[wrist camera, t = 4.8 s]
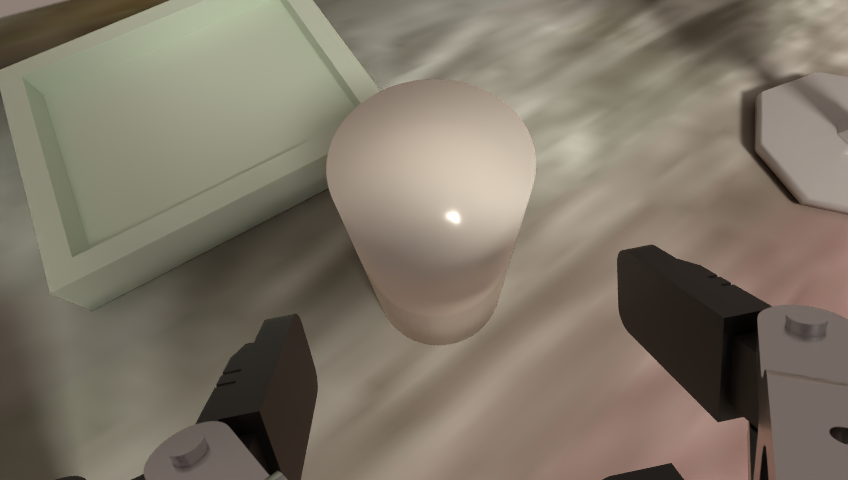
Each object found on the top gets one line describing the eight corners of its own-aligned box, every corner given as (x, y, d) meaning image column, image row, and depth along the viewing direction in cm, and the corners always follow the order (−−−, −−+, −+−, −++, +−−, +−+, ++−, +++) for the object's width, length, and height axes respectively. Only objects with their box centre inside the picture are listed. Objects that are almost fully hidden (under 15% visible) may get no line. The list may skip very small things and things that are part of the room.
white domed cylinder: (417, 370, 20) (389, 296, 11) (357, 266, 22) (292, 134, 13) (524, 303, 21) (581, 185, 12) (456, 211, 23) (461, 51, 14)
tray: (91, 310, 22) (49, 293, 19) (32, 103, 28) (-5, 71, 25) (404, 148, 25) (400, 117, 22) (292, -8, 31) (279, -45, 28)
